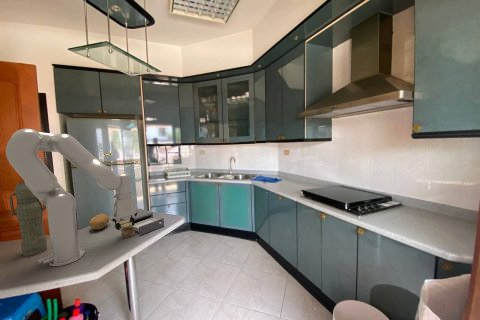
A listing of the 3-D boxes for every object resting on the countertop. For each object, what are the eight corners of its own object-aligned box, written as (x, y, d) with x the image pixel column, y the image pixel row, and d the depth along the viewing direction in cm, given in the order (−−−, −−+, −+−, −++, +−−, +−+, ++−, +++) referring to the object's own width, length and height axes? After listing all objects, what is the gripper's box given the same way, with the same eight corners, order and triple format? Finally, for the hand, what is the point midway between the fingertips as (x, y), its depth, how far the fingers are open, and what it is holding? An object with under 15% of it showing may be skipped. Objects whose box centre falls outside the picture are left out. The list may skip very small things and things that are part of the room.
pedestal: (126, 238, 112) (125, 231, 112) (121, 236, 115) (121, 229, 115) (135, 234, 116) (134, 228, 116) (130, 232, 119) (130, 226, 119)
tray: (140, 235, 114) (139, 227, 114) (126, 229, 124) (125, 221, 123) (164, 225, 126) (164, 218, 126) (150, 220, 136) (149, 213, 136)
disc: (121, 229, 109) (121, 225, 109) (115, 225, 113) (115, 222, 113) (134, 225, 115) (134, 222, 115) (128, 222, 119) (128, 219, 119)
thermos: (51, 250, 102) (42, 181, 99) (17, 260, 94) (6, 185, 91) (51, 243, 109) (43, 179, 105) (19, 252, 101) (8, 183, 97)
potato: (85, 234, 119) (84, 221, 118) (94, 225, 132) (93, 213, 131) (105, 231, 122) (103, 218, 121) (111, 223, 135) (110, 211, 134)
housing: (128, 231, 121) (127, 221, 121) (116, 225, 131) (115, 215, 130) (153, 221, 134) (152, 212, 134) (140, 217, 144) (140, 208, 143)
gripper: (109, 200, 104) (111, 234, 105) (142, 193, 118) (143, 224, 119) (103, 198, 108) (105, 230, 109) (136, 192, 122) (137, 221, 123)
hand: (125, 227), depth 114 cm, fingers closed on disc, 7 cm apart
